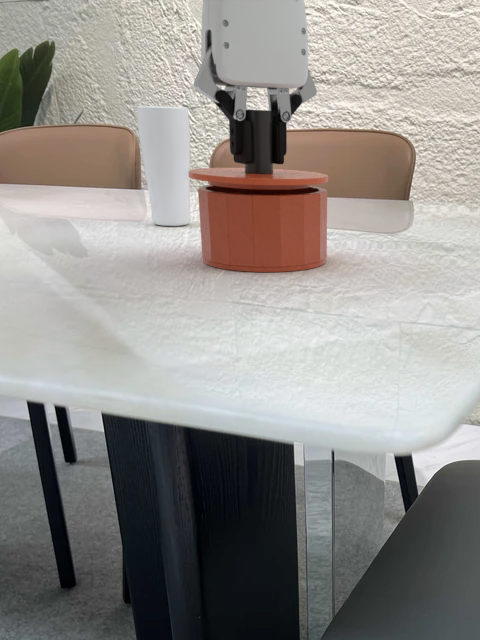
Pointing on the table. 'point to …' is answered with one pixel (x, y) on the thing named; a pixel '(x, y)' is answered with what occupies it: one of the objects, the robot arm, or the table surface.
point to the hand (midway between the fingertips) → (258, 161)
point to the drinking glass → (166, 162)
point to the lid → (259, 164)
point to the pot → (263, 228)
